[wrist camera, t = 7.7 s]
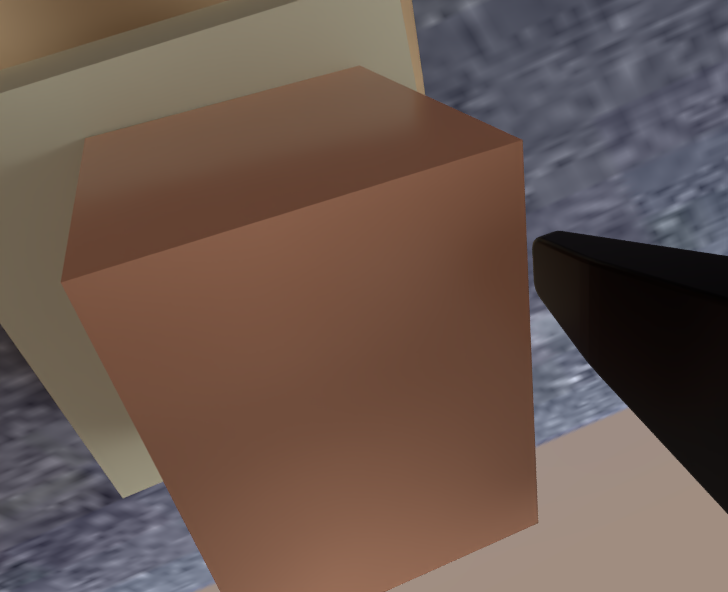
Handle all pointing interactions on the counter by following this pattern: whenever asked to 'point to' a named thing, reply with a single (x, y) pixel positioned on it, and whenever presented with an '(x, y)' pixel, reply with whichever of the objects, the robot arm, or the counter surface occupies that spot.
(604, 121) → the counter surface
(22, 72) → the tower top
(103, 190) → the terracotta brick
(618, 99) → the counter surface
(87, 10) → the tower base
